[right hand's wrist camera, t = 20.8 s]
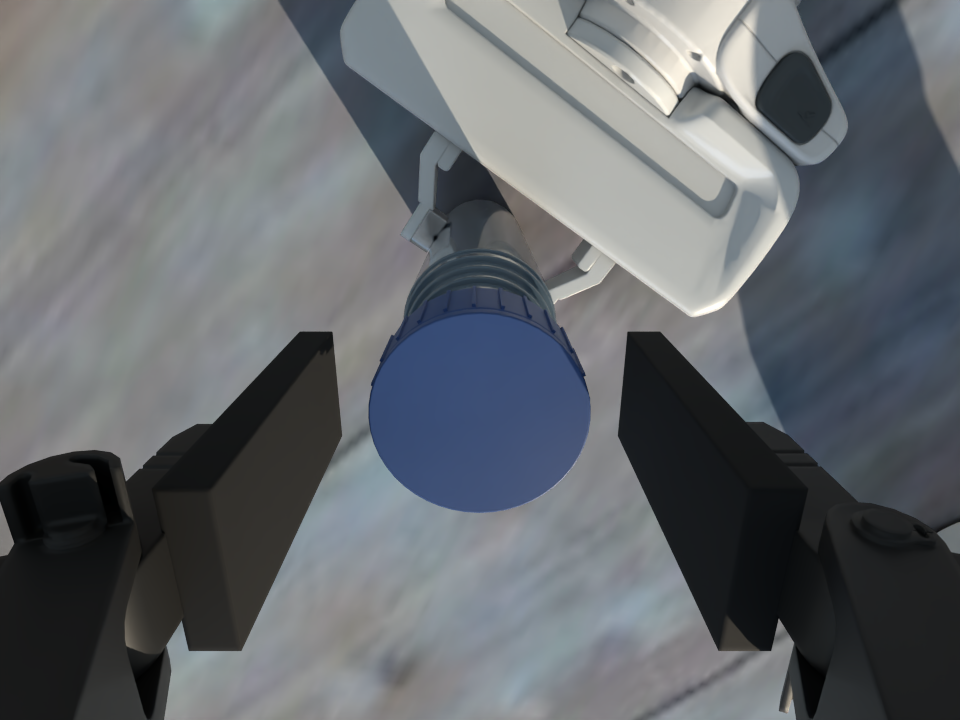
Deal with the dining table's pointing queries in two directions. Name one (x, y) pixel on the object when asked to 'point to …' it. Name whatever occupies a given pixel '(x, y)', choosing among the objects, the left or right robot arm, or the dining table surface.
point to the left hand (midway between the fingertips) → (469, 280)
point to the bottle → (480, 258)
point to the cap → (479, 401)
